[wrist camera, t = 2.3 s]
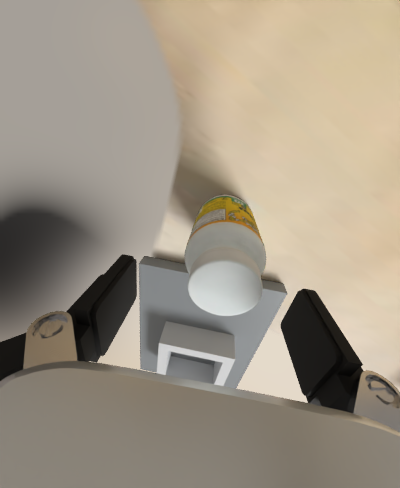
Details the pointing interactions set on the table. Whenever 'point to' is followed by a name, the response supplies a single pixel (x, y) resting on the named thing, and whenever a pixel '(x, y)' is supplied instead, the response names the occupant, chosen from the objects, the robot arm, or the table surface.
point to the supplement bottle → (225, 257)
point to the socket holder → (197, 327)
